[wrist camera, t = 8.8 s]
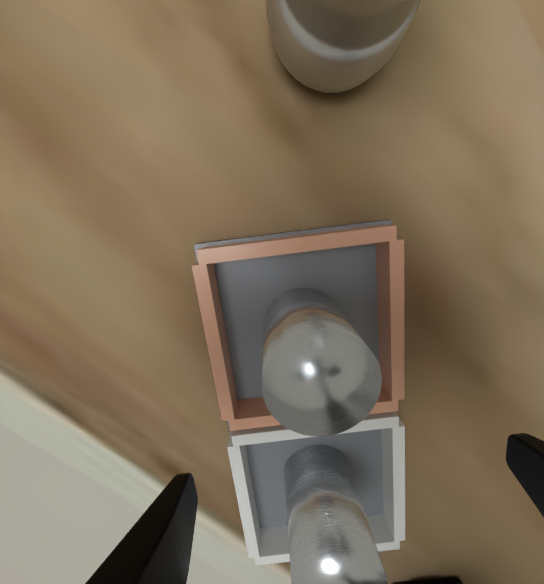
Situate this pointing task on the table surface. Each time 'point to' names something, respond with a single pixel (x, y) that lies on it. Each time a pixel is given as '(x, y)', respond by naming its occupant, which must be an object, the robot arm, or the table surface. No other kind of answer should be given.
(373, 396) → the steel billet
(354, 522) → the billet
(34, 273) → the table surface
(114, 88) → the table surface
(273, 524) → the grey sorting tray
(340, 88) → the plastic bottle
